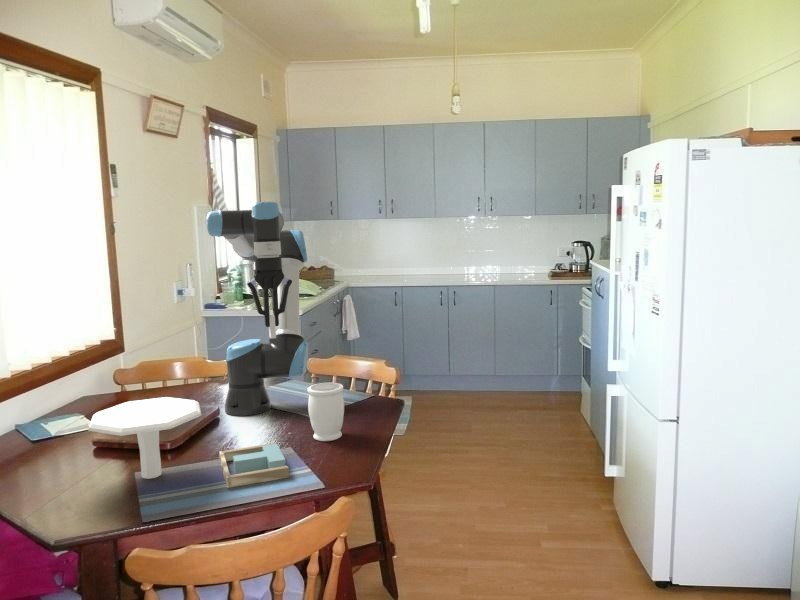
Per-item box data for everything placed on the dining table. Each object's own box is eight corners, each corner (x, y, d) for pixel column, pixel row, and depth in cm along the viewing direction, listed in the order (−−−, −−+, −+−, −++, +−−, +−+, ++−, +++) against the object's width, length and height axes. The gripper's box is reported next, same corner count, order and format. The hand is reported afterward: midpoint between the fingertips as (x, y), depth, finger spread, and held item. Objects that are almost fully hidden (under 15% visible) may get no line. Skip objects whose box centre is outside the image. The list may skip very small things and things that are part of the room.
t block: (232, 463, 168) (231, 450, 168) (277, 456, 172) (277, 443, 172) (237, 480, 157) (236, 467, 156) (286, 472, 161) (285, 459, 161)
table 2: (123, 455, 176) (117, 396, 174) (223, 453, 175) (218, 394, 173) (67, 500, 149) (60, 431, 147) (186, 498, 148) (180, 429, 146)
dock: (219, 460, 170) (219, 451, 170) (276, 451, 175) (275, 442, 175) (226, 488, 153) (226, 478, 152) (289, 477, 158) (288, 467, 158)
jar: (339, 443, 180) (337, 392, 178) (304, 442, 182) (301, 391, 180) (349, 431, 190) (347, 382, 188) (316, 429, 192) (314, 381, 190)
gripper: (246, 258, 176) (251, 342, 179) (293, 255, 181) (297, 337, 184) (243, 257, 183) (248, 337, 186) (288, 254, 188) (292, 333, 191)
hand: (272, 337), depth 185 cm, fingers closed
